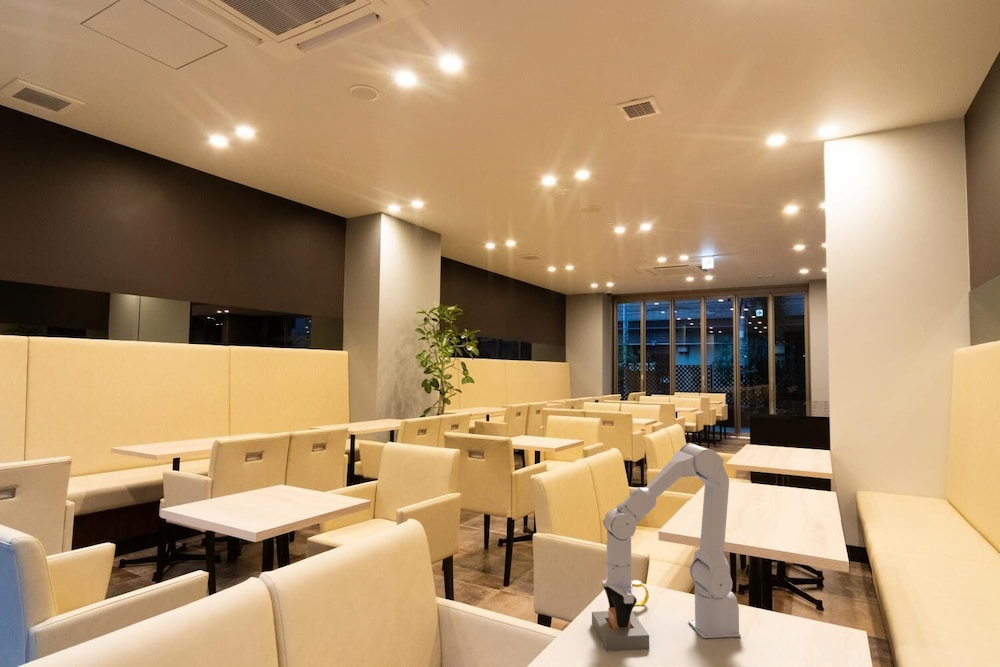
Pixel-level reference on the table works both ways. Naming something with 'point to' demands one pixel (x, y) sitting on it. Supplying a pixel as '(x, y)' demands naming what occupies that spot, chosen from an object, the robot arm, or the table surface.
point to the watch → (639, 584)
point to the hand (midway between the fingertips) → (619, 621)
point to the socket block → (620, 633)
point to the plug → (614, 619)
